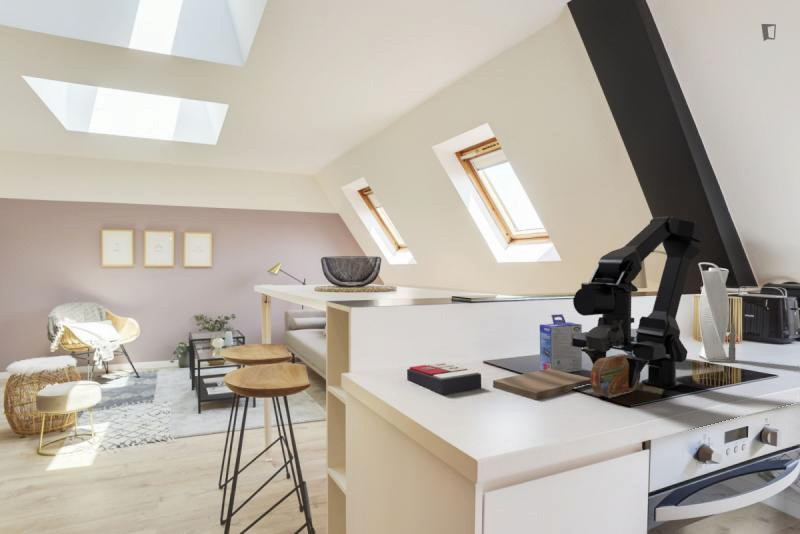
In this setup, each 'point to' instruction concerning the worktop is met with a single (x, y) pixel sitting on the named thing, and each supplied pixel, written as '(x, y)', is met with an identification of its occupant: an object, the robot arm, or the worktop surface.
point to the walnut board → (541, 383)
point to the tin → (611, 375)
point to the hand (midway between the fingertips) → (615, 384)
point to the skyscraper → (715, 316)
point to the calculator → (444, 378)
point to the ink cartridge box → (560, 346)
